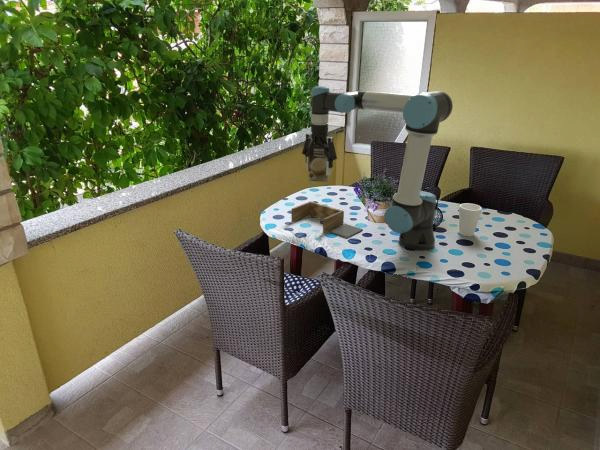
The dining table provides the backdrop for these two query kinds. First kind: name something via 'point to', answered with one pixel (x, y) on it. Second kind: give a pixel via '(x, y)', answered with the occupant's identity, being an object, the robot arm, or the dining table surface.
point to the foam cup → (468, 218)
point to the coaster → (346, 231)
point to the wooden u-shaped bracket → (319, 215)
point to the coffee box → (317, 163)
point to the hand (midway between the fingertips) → (318, 172)
